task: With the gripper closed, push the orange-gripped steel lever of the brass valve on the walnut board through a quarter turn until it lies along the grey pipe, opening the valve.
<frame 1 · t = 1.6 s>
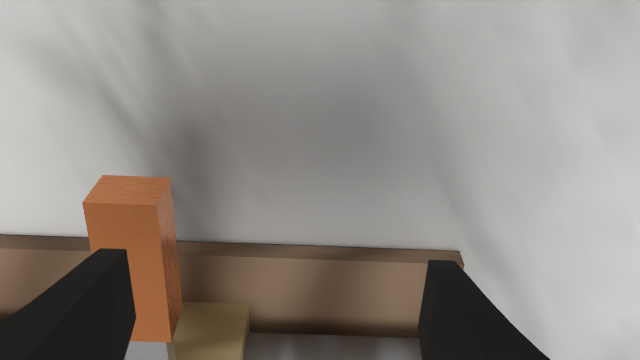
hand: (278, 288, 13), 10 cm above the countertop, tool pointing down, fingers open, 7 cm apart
valve board: (198, 326, 27), on the countertop
valve lever: (150, 355, 19), point 7 cm above the countertop, hinge at 0.0°
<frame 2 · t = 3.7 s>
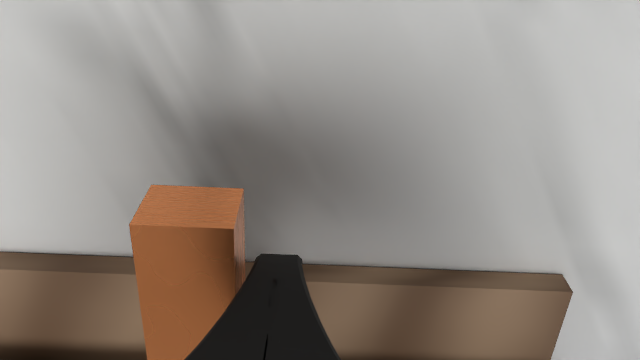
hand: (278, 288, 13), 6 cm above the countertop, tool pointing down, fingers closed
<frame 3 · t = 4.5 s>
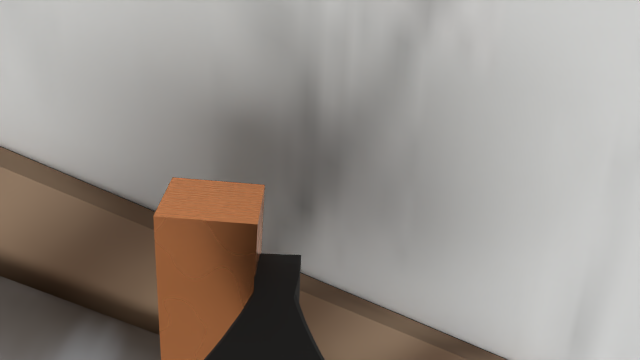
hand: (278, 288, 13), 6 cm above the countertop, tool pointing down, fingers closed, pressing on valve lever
valve board: (239, 357, 23), on the countertop
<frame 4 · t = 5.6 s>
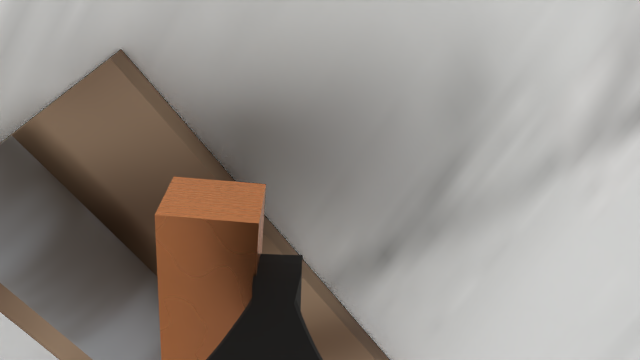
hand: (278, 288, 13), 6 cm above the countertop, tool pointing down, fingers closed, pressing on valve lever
valve board: (238, 357, 23), on the countertop
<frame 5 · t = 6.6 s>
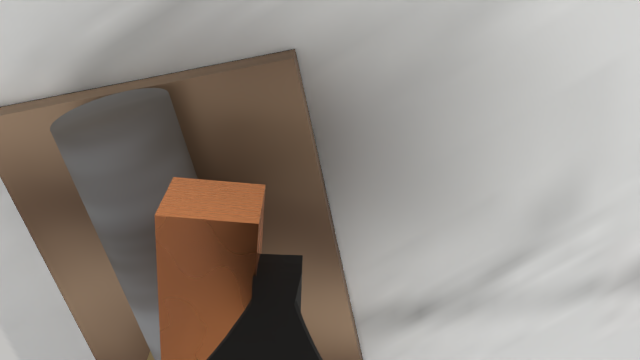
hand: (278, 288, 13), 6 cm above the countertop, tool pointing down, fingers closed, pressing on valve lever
valve board: (238, 358, 23), on the countertop
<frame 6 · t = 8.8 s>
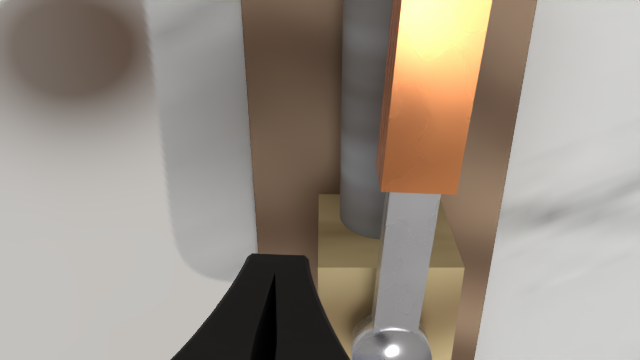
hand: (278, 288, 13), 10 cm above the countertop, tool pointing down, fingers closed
valve board: (373, 234, 25), on the countertop
valve lever: (408, 221, 16), point 7 cm above the countertop, hinge at 87.3°
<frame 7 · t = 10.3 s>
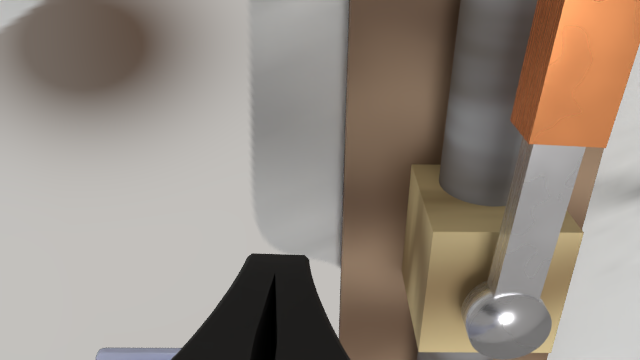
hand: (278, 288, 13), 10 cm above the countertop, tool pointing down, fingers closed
valve board: (458, 208, 24), on the countertop
valve lever: (543, 179, 16), point 7 cm above the countertop, hinge at 87.3°
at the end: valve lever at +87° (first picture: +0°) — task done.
